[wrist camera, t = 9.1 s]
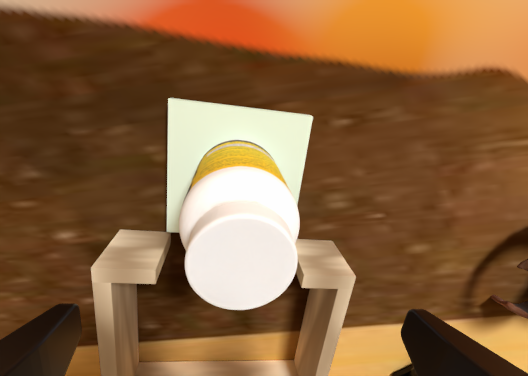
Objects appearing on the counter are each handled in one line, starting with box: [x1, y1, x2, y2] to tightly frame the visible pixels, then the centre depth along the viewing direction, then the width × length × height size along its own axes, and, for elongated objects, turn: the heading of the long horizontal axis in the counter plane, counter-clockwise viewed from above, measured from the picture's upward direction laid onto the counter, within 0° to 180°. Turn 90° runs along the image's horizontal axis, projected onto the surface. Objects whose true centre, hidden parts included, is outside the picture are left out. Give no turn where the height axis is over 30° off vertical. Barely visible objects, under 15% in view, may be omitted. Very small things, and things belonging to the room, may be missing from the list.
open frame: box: [91, 230, 356, 376], centre depth 21 cm, size 16×14×4 cm
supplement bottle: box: [179, 139, 300, 310], centre depth 14 cm, size 5×5×10 cm
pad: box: [167, 98, 313, 233], centre depth 19 cm, size 9×9×1 cm
